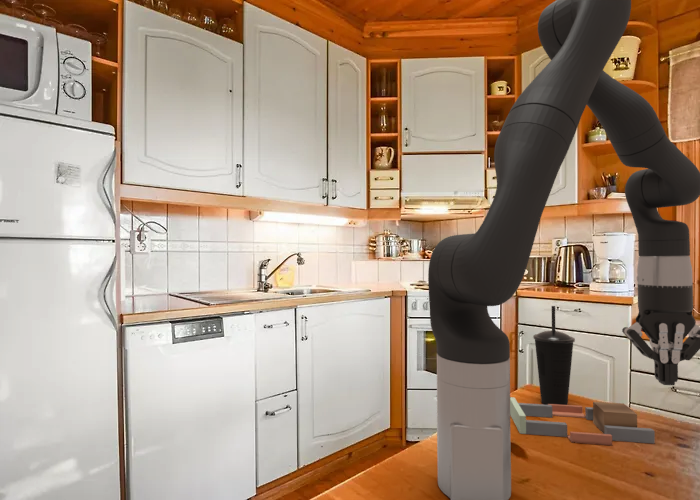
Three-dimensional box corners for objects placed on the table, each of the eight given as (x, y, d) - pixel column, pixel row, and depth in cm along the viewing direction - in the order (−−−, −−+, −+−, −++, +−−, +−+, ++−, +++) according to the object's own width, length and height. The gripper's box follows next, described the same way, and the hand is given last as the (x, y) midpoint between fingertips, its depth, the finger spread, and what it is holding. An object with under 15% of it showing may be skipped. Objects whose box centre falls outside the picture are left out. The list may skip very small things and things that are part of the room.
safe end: (526, 433, 70) (525, 416, 70) (519, 433, 70) (519, 415, 70) (514, 413, 79) (514, 397, 79) (509, 412, 79) (509, 397, 79)
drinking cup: (575, 413, 78) (574, 309, 79) (531, 406, 82) (531, 306, 83) (576, 401, 85) (574, 305, 85) (536, 395, 89) (535, 303, 89)
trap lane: (661, 449, 64) (661, 436, 64) (528, 439, 68) (528, 426, 68) (621, 416, 77) (621, 405, 77) (512, 409, 81) (512, 399, 81)
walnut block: (637, 438, 68) (637, 414, 68) (604, 435, 69) (604, 411, 69) (623, 425, 73) (623, 403, 73) (593, 423, 74) (592, 401, 74)
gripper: (631, 284, 68) (634, 389, 67) (724, 284, 65) (726, 393, 65) (611, 281, 75) (614, 375, 75) (694, 281, 72) (696, 379, 72)
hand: (666, 383), depth 70 cm, fingers closed
